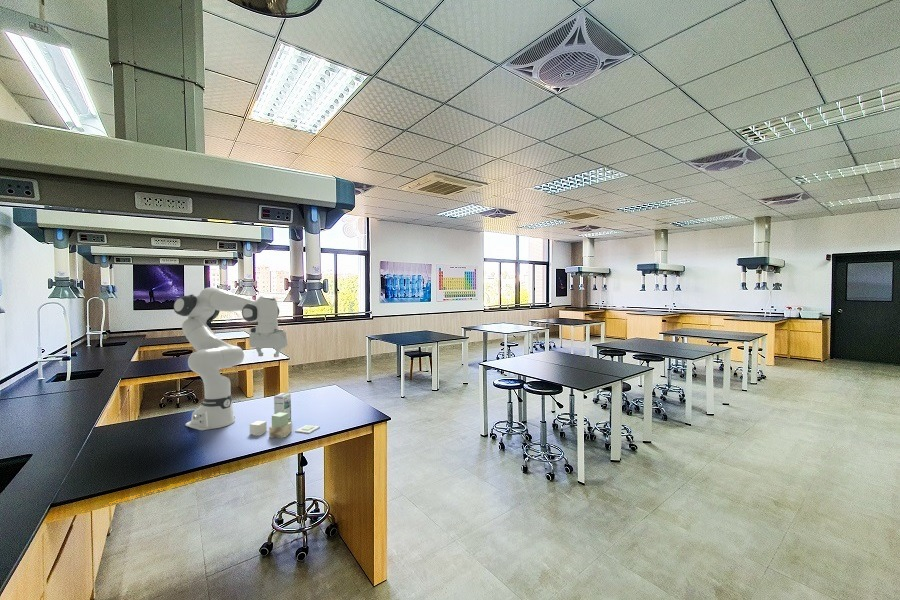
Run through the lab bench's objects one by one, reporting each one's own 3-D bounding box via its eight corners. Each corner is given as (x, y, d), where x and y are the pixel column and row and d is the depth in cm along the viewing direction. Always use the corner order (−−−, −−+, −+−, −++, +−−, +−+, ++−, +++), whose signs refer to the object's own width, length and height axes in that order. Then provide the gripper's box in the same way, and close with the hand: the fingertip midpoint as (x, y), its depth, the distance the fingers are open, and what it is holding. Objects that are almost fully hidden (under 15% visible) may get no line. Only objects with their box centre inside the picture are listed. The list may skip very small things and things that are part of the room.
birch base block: (269, 438, 166) (269, 427, 166) (277, 432, 173) (277, 422, 173) (284, 438, 166) (284, 427, 166) (291, 432, 173) (291, 422, 173)
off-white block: (249, 434, 170) (249, 424, 170) (258, 430, 174) (258, 420, 174) (258, 435, 168) (258, 425, 168) (266, 431, 173) (266, 421, 173)
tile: (295, 431, 173) (295, 430, 173) (306, 425, 180) (306, 424, 180) (309, 433, 170) (309, 431, 170) (319, 427, 178) (319, 425, 178)
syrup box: (284, 424, 182) (283, 396, 182) (274, 423, 183) (273, 395, 183) (291, 420, 188) (291, 393, 187) (281, 420, 189) (281, 392, 189)
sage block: (271, 426, 167) (271, 415, 167) (279, 422, 172) (279, 412, 172) (280, 427, 166) (280, 416, 166) (288, 423, 170) (288, 413, 170)
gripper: (290, 328, 178) (290, 356, 179) (256, 327, 184) (257, 354, 184) (280, 330, 172) (281, 358, 173) (246, 329, 178) (247, 356, 178)
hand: (268, 356), depth 179 cm, fingers open, 8 cm apart
